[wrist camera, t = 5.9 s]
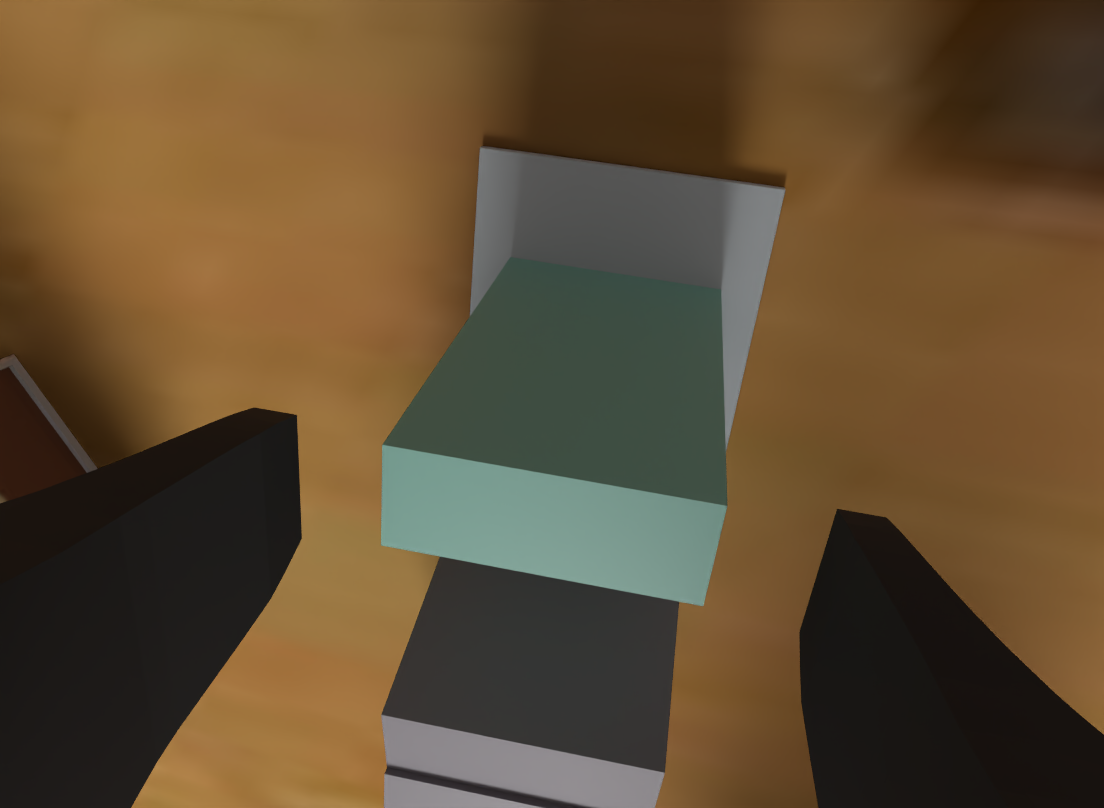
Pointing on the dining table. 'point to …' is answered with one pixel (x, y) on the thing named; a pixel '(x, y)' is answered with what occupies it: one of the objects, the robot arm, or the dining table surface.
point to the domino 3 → (449, 794)
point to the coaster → (631, 232)
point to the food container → (33, 437)
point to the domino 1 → (571, 435)
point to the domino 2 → (535, 688)
